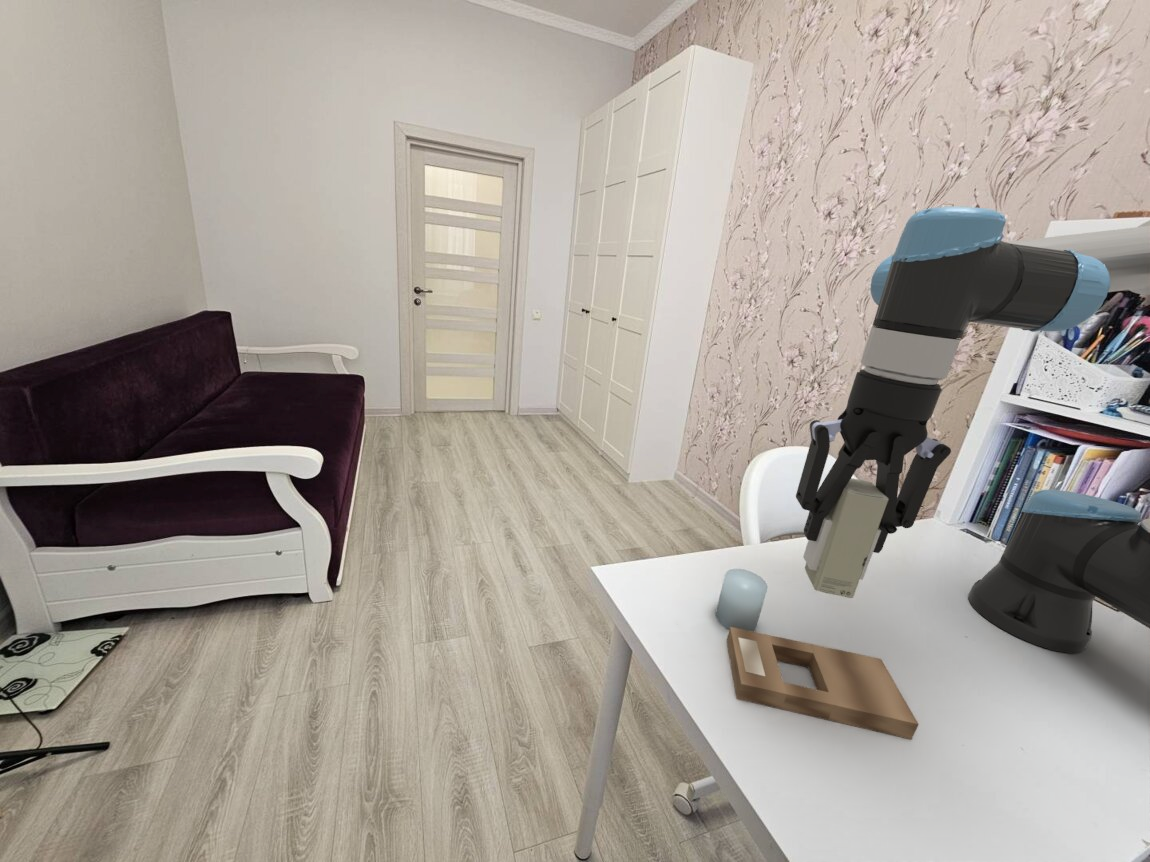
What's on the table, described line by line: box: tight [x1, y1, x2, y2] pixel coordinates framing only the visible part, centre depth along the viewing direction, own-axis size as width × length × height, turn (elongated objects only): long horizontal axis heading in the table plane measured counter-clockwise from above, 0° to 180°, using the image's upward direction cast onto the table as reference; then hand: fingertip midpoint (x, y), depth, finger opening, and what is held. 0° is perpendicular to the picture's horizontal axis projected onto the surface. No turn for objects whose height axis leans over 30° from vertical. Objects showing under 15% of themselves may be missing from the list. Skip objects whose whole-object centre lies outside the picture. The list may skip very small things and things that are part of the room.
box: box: [804, 477, 889, 599], centre depth 54 cm, size 5×4×13 cm
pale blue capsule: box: [715, 568, 769, 632], centre depth 70 cm, size 6×6×7 cm
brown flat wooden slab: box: [726, 627, 920, 740], centre depth 61 cm, size 20×10×2 cm, turn 80°
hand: (832, 567), depth 56 cm, fingers closed on box, 4 cm apart
